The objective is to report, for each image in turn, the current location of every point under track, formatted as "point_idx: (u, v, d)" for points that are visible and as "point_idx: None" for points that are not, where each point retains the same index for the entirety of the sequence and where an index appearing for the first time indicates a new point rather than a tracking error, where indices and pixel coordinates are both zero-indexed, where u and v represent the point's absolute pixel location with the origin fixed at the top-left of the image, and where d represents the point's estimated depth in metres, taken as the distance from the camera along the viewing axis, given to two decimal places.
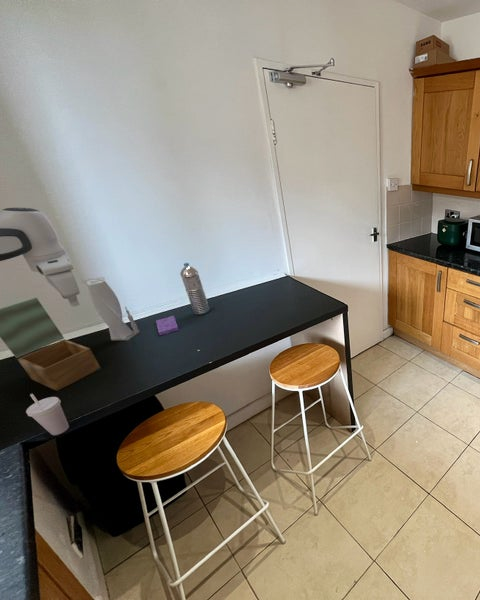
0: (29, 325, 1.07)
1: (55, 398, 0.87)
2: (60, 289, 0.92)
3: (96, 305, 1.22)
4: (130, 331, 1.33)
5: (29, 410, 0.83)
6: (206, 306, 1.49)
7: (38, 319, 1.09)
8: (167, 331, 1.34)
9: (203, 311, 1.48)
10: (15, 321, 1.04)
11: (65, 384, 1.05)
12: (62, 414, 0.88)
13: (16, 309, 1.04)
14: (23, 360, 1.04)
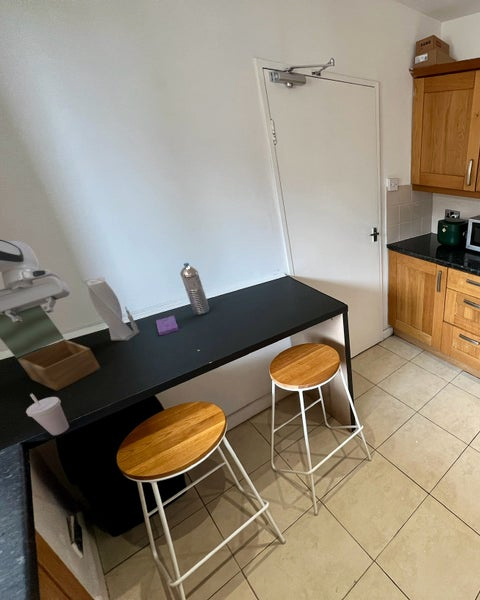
0: (28, 325, 1.07)
1: (55, 398, 0.87)
2: (61, 284, 1.08)
3: (96, 305, 1.22)
4: (130, 331, 1.33)
5: (29, 410, 0.83)
6: (206, 306, 1.49)
7: (37, 319, 1.09)
8: (167, 331, 1.34)
9: (203, 311, 1.48)
10: None
11: (65, 384, 1.05)
12: (62, 414, 0.88)
13: None
14: (23, 360, 1.04)
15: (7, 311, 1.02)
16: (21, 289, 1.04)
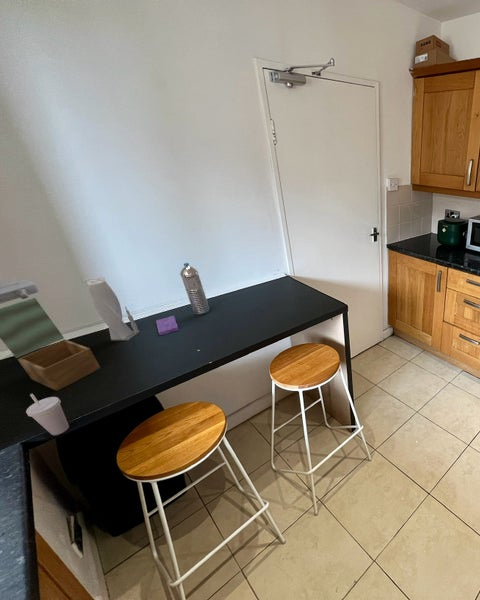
0: (28, 325, 1.07)
1: (55, 398, 0.87)
2: (30, 281, 1.14)
3: (96, 305, 1.22)
4: (130, 331, 1.33)
5: (29, 410, 0.83)
6: (206, 306, 1.49)
7: (37, 319, 1.09)
8: (167, 331, 1.34)
9: (203, 311, 1.48)
10: (14, 321, 1.04)
11: (65, 384, 1.05)
12: (62, 414, 0.88)
13: (15, 309, 1.04)
14: (23, 360, 1.04)
15: None
16: None
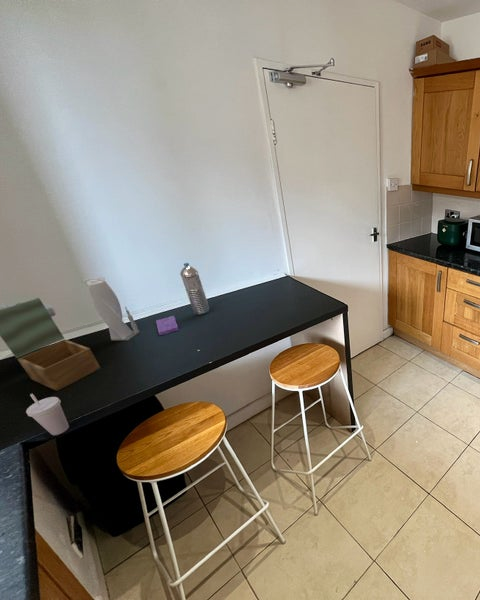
0: (31, 325, 1.06)
1: (55, 398, 0.87)
2: (48, 305, 1.16)
3: (96, 305, 1.22)
4: (130, 331, 1.33)
5: (29, 410, 0.83)
6: (206, 306, 1.49)
7: (39, 319, 1.08)
8: (167, 331, 1.34)
9: (203, 311, 1.48)
10: (17, 321, 1.03)
11: (65, 384, 1.05)
12: (62, 414, 0.88)
13: (18, 309, 1.03)
14: (23, 360, 1.04)
15: None
16: None
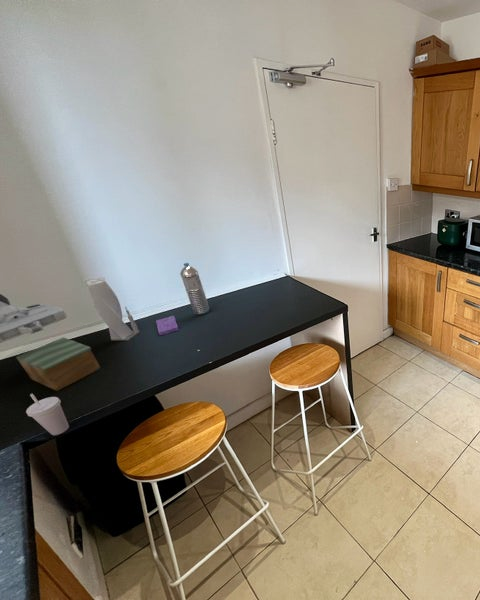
0: None
1: (55, 398, 0.87)
2: None
3: (96, 305, 1.22)
4: (130, 331, 1.33)
5: (29, 410, 0.83)
6: (206, 306, 1.49)
7: None
8: (167, 331, 1.34)
9: (203, 311, 1.48)
10: None
11: (65, 384, 1.05)
12: (62, 414, 0.88)
13: None
14: None
15: (20, 327, 1.03)
16: (16, 319, 1.06)
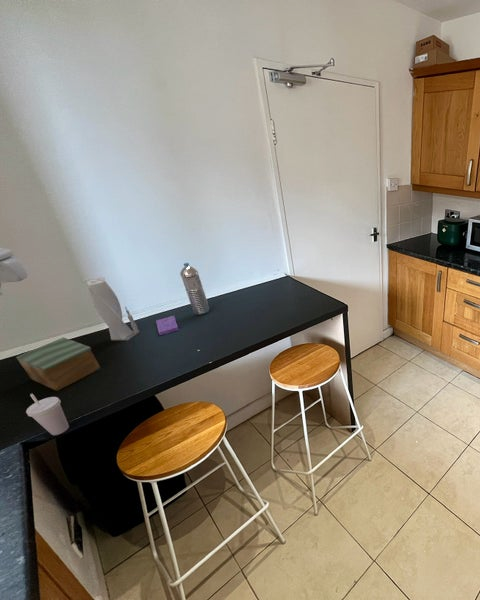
0: None
1: (55, 398, 0.87)
2: (15, 272, 1.00)
3: (96, 305, 1.22)
4: (130, 331, 1.33)
5: (29, 410, 0.84)
6: (206, 306, 1.49)
7: None
8: (167, 331, 1.34)
9: (203, 311, 1.48)
10: None
11: (65, 384, 1.05)
12: (62, 414, 0.88)
13: None
14: None
15: None
16: None
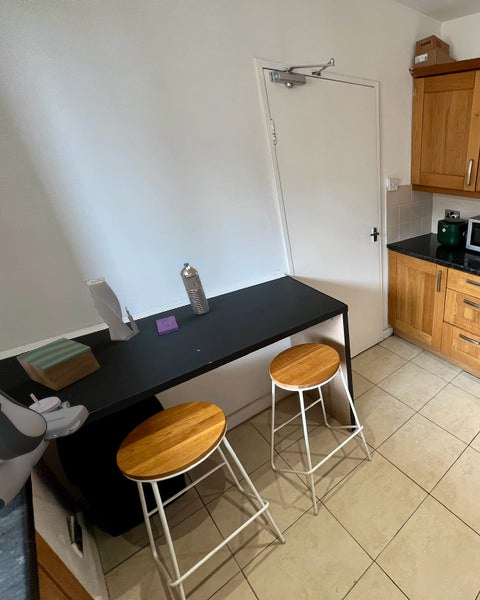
0: None
1: (55, 398, 0.87)
2: None
3: (96, 305, 1.22)
4: (130, 331, 1.33)
5: None
6: (206, 306, 1.49)
7: None
8: (167, 331, 1.34)
9: (203, 311, 1.48)
10: None
11: (65, 384, 1.05)
12: None
13: None
14: None
15: None
16: None
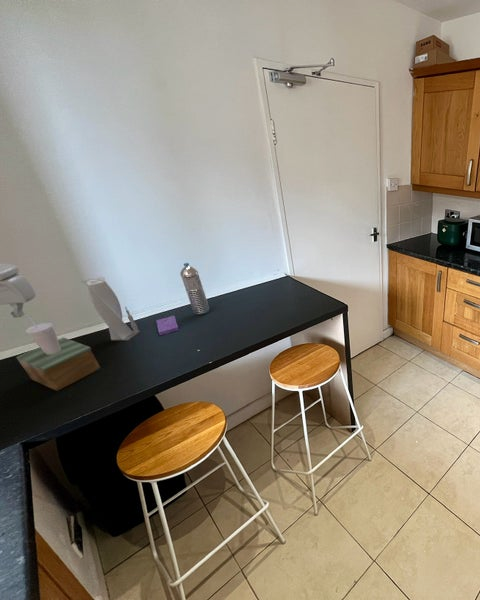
0: None
1: (49, 323, 1.05)
2: (22, 293, 0.86)
3: (96, 305, 1.22)
4: (130, 331, 1.33)
5: (28, 330, 1.01)
6: (206, 306, 1.49)
7: None
8: (167, 331, 1.34)
9: (203, 311, 1.48)
10: None
11: (65, 384, 1.05)
12: (55, 337, 1.05)
13: None
14: None
15: None
16: None
